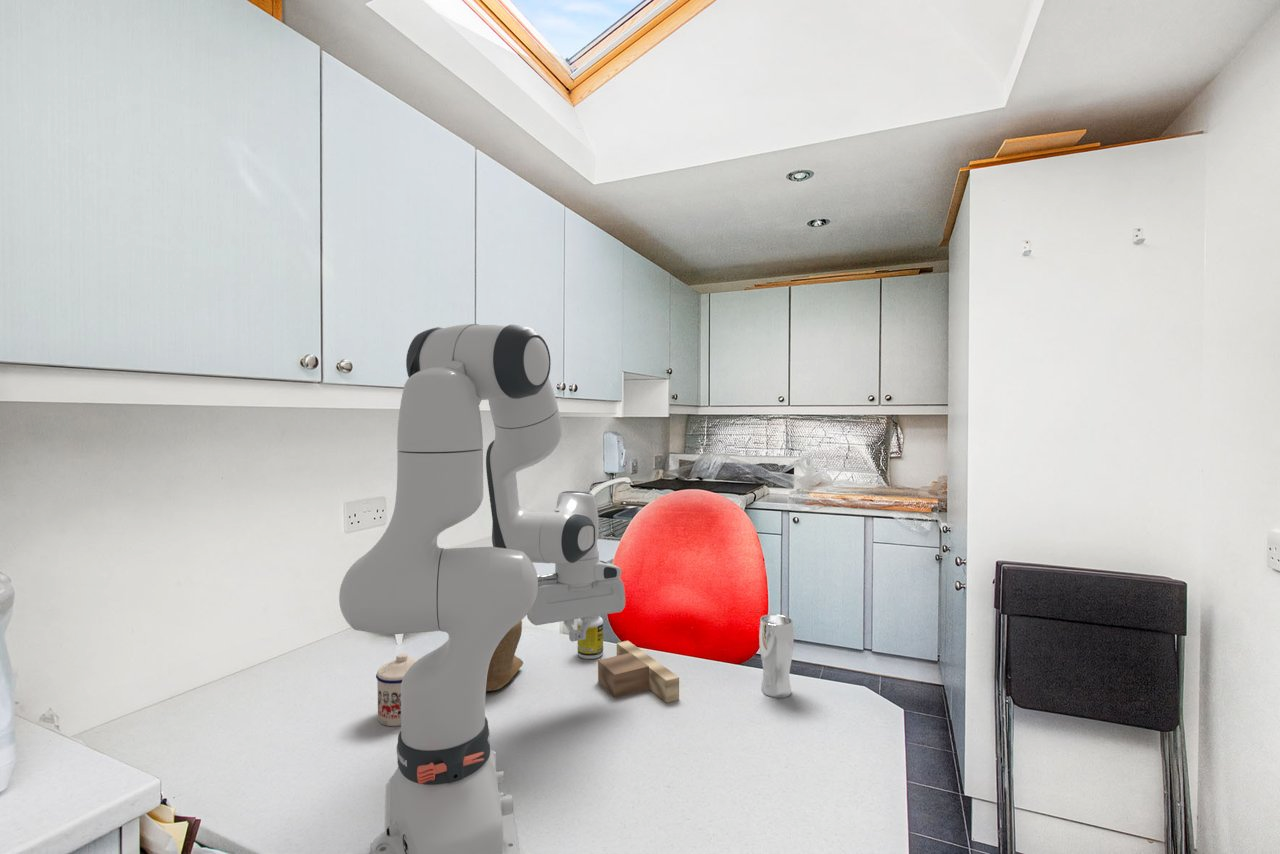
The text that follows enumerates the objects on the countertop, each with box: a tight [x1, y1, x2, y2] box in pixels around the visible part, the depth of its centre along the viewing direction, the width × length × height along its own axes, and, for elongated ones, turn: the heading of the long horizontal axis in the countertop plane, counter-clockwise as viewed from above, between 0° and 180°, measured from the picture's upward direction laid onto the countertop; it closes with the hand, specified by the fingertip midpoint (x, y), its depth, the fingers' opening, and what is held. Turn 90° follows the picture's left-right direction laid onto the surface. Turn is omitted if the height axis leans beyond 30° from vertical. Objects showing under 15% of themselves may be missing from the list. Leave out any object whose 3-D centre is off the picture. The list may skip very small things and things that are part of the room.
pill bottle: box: [577, 615, 604, 660], centre depth 139 cm, size 6×6×11 cm
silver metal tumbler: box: [758, 613, 795, 699], centre depth 120 cm, size 7×7×15 cm
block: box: [597, 653, 650, 699], centre depth 123 cm, size 8×8×5 cm
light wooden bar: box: [616, 640, 680, 704], centre depth 126 cm, size 22×3×4 cm, turn 29°
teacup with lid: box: [375, 653, 420, 727], centre depth 111 cm, size 12×9×12 cm
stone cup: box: [486, 619, 524, 692], centre depth 126 cm, size 15×12×15 cm
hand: (577, 639), depth 117 cm, fingers closed
